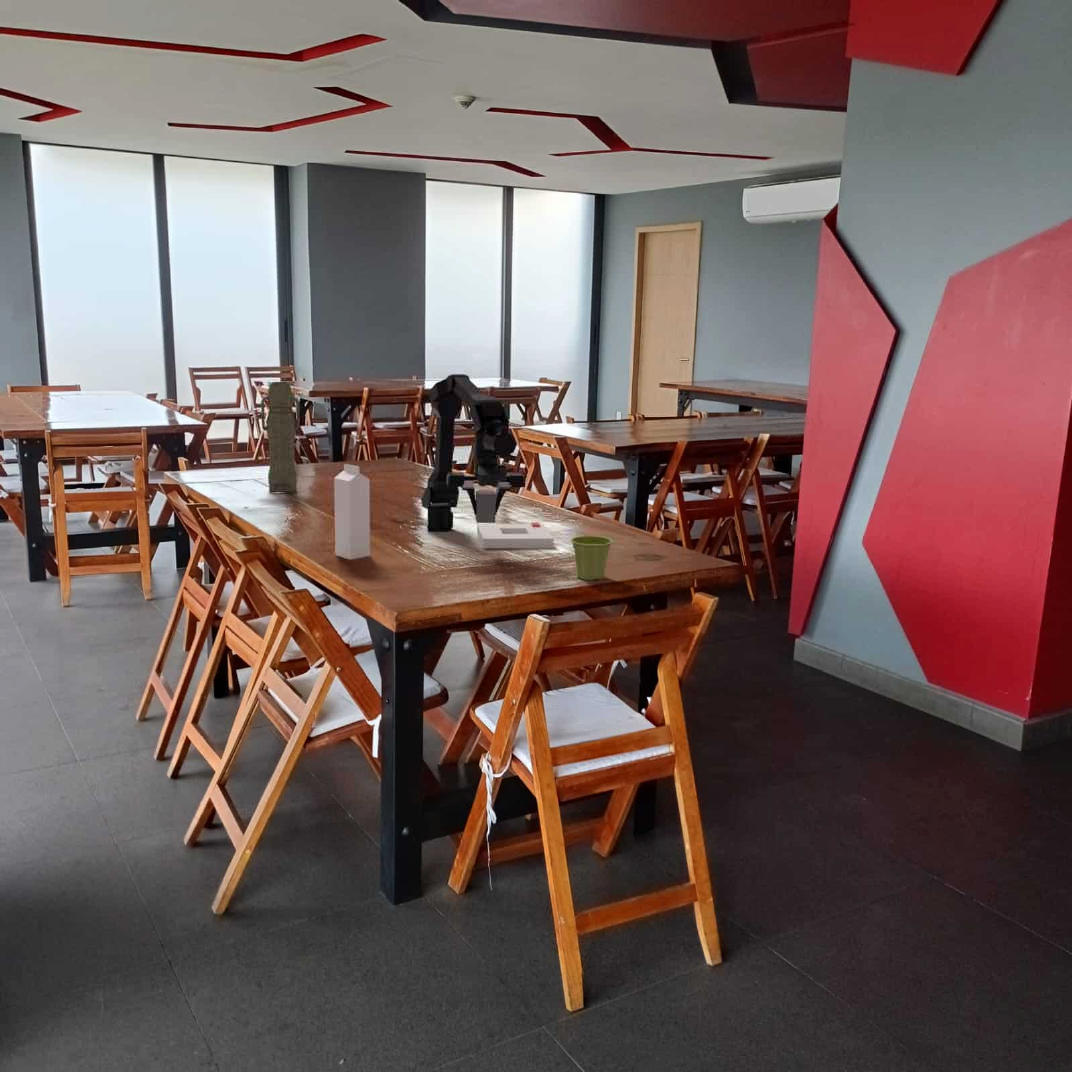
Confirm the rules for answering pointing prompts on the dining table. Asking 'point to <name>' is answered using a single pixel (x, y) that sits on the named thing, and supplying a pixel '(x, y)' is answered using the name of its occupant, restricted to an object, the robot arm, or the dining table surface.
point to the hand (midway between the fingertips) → (485, 514)
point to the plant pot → (591, 556)
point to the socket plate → (514, 536)
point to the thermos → (281, 436)
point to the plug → (485, 506)
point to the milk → (352, 513)
